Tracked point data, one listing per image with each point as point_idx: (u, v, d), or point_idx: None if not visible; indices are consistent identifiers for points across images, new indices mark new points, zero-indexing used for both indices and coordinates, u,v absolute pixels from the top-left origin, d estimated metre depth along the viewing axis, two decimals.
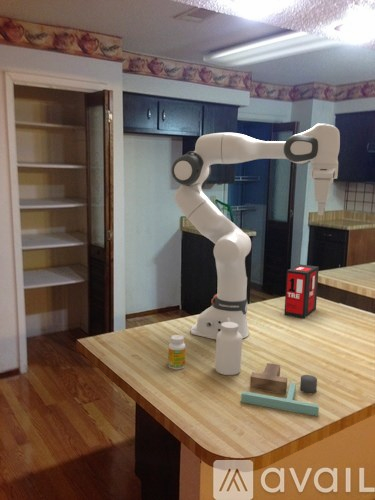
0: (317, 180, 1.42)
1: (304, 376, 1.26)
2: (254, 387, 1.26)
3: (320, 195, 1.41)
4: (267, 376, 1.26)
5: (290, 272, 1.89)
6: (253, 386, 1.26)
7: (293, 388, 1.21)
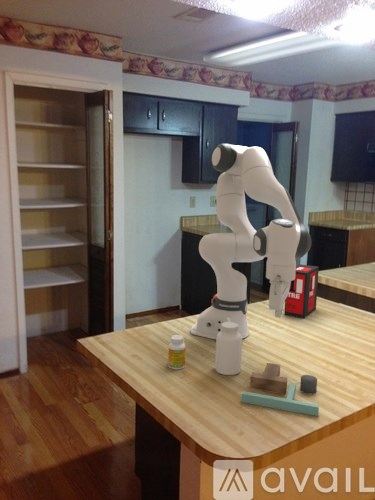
0: None
1: (304, 376, 1.26)
2: (254, 387, 1.26)
3: None
4: (267, 376, 1.26)
5: None
6: (253, 386, 1.26)
7: (293, 388, 1.21)
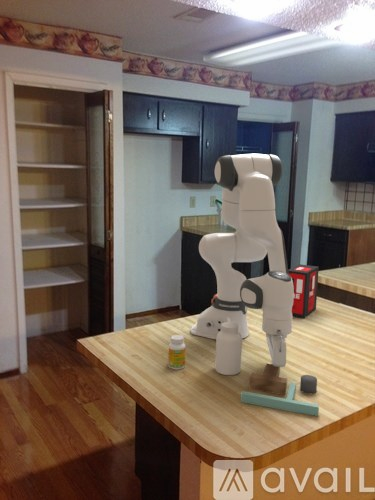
0: None
1: (304, 376, 1.26)
2: (253, 388, 1.25)
3: None
4: (267, 376, 1.25)
5: (290, 272, 1.89)
6: (252, 387, 1.25)
7: (293, 388, 1.21)
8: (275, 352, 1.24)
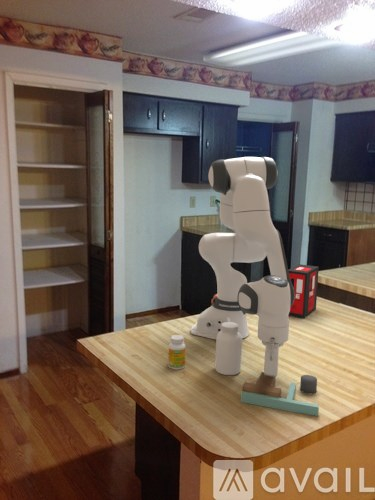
0: None
1: (304, 376, 1.26)
2: None
3: None
4: (260, 386, 1.20)
5: (290, 272, 1.89)
6: None
7: (293, 388, 1.21)
8: (266, 360, 1.19)
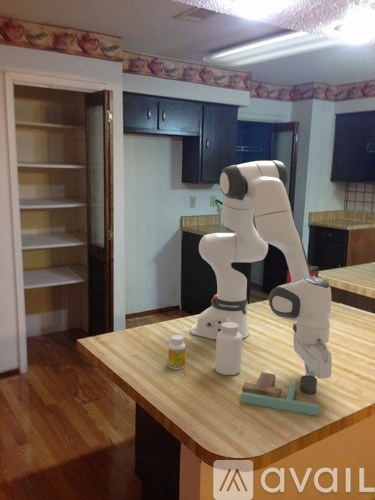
0: None
1: (304, 377, 1.26)
2: None
3: None
4: (260, 386, 1.20)
5: None
6: None
7: (293, 388, 1.21)
8: (320, 363, 1.17)
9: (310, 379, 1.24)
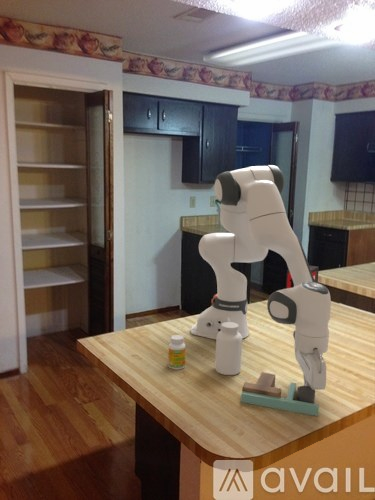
0: None
1: (301, 387, 1.19)
2: None
3: None
4: (260, 386, 1.20)
5: None
6: None
7: (293, 388, 1.21)
8: (314, 373, 1.11)
9: (308, 390, 1.18)
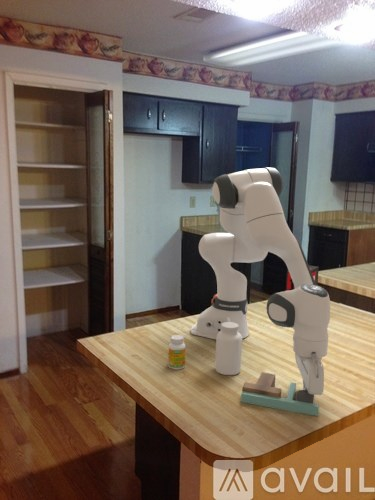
0: None
1: (300, 391, 1.17)
2: None
3: None
4: (260, 386, 1.20)
5: None
6: None
7: (293, 388, 1.21)
8: (311, 378, 1.09)
9: (306, 394, 1.16)
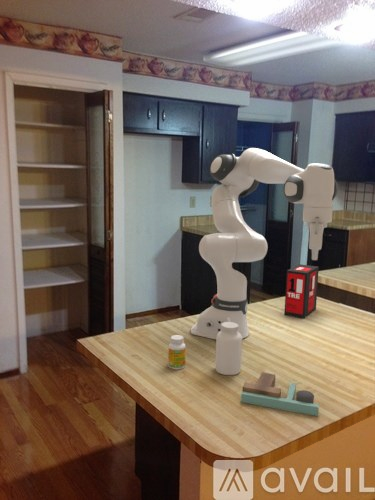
0: None
1: (300, 392, 1.17)
2: None
3: None
4: (260, 386, 1.20)
5: (290, 272, 1.89)
6: None
7: (293, 388, 1.21)
8: (311, 234, 1.30)
9: (306, 394, 1.16)
